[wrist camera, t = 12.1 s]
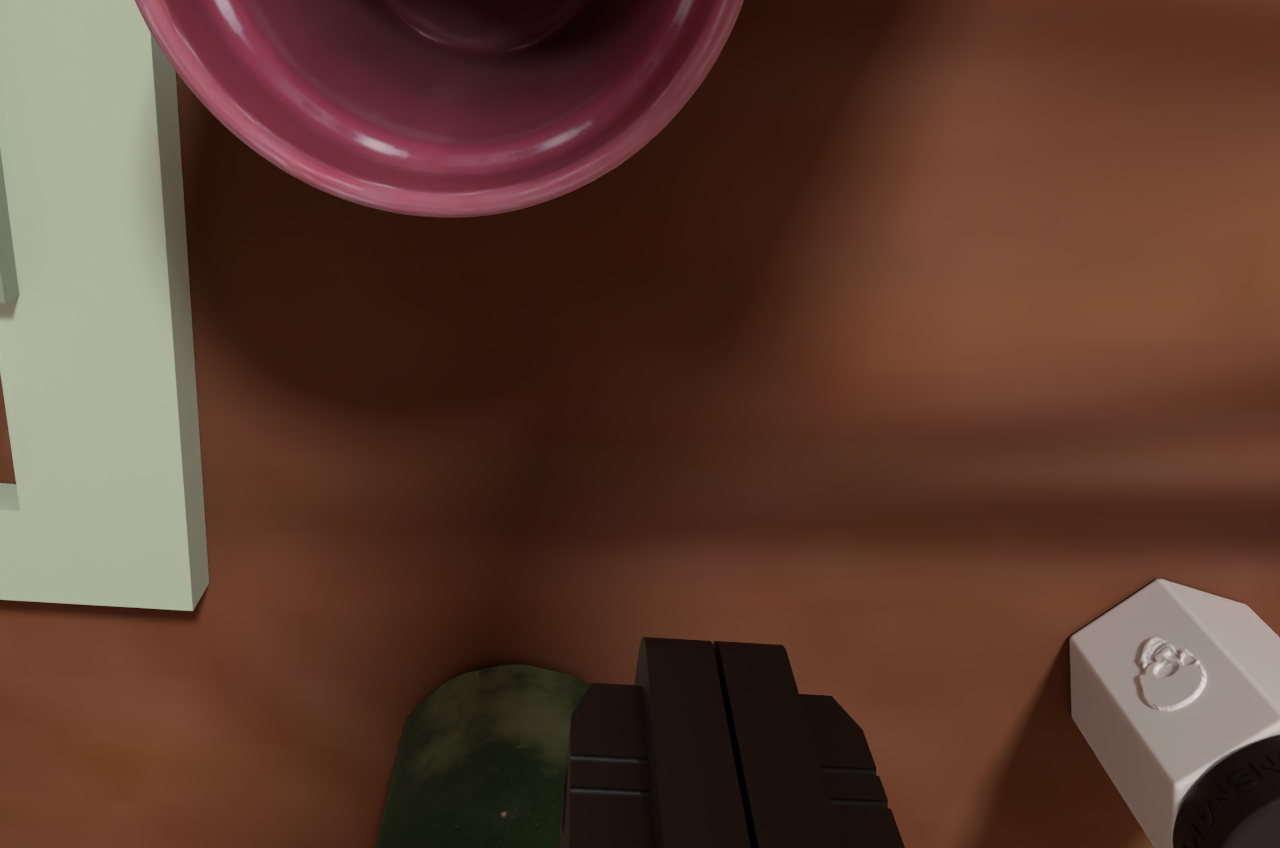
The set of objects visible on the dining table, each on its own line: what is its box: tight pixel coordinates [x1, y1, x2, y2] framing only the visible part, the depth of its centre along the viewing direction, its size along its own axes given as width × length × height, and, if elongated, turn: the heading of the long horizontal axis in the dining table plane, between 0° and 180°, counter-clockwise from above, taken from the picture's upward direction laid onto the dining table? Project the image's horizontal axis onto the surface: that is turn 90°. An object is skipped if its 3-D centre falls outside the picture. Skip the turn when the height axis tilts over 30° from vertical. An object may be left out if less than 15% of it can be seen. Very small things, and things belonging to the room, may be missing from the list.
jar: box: [1069, 579, 1280, 848], centre depth 42 cm, size 9×8×12 cm
